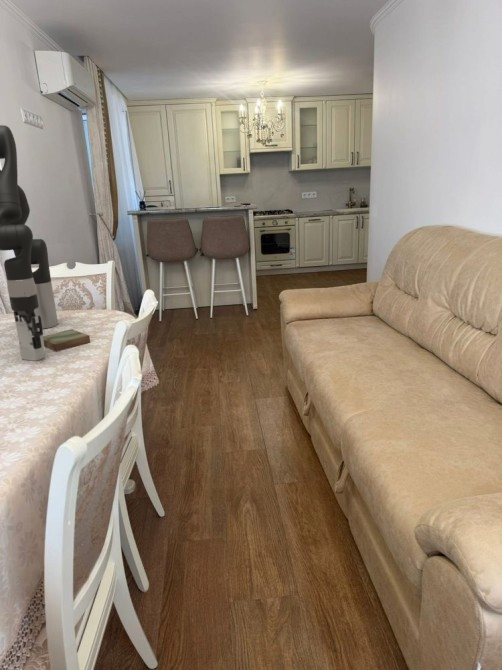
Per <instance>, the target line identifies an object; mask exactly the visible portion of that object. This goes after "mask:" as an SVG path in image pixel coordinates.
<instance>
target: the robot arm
mask: <svg viewBox="0 0 502 670" xmlns="http://www.w3.org/2000/svg"><path fill="white" fill-rule="evenodd" d="M17 153H18V152H17V144H16V141H15V138H14V134H13V132H12V130H11V128H10V127H9V126H8V125H5V124H4V125H3V124H2V125H0V160H2V159H4V163H3V167H2V169H0V251H13V254H14V257H11V258H10V257H9V258H7V259H5V260H4V263H3V266H4V272H5V277H6V278H5V279H6V285H7V293H8V297H9V304H10V309H11V310H12V311H13V317H14V321H15V323H16V322H17V321H23V323H24V324H25V327H26V329H27V331H29V332H30V334H31V337H32V343H33V348H34V349H38V348H41V347H42V346H41V340H40V336H41V335H43V336H44V329H48V328H53V327H54V328H55V327H56V326H58V325H59V322H58V313H57V308H56V301H55V295H54V289H53V284H52V283H53V282H52V277H51V271H50V265H49V254H48V253H49V252H48V247H47V244H46V243H47V242H46V241H45V240H44V239H42V238H34V233H33V231H32V230H31V228H30V227H29V225H26V223H27V221H28V219H29V216H30V211H31V209H30V205H29V202H28V199H27V195H26V193H25V191H24V190H23V188H22V187H21V186H20V185H19V184H18V183H19V182H18V176H19V175H18V154H17ZM32 265H38V268H37V269H35V271H33V270H32ZM29 323H32V327H29V325H28V324H29ZM32 329H33V331H32ZM36 331H37V332H36Z"/></svg>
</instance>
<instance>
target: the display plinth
mask: <svg viewBox="0 0 502 670" xmlns="http://www.w3.org/2000/svg"><path fill="white" fill-rule="evenodd" d="M43 341H44V348H47V349H49V350H52V351H54V352H59V351H60V352H61V351H64V350H67V349H72V348H75V347H78V346H83V345H86V344H89V343H91V338H90V335H89V334H87V333H84V332H81V331H78V330H75V329H72V328H71V329H69V330H64V331H60V332H56V333H52V334H48V335H43Z"/></svg>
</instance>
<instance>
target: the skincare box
mask: <svg viewBox="0 0 502 670" xmlns="http://www.w3.org/2000/svg"><path fill="white" fill-rule="evenodd" d="M28 325H29V327H32V323H29V324H28ZM15 327H16V332H17V333H16V334H17V338H18V345H19V346H18V347H19V352H20V353H19V354H20V359H22V360H27V361H33V362H37V361H39V360H41V359H44V358H45V357H46V349H45V348H46V347H44V341H43V336H44V334H43V335H41V336H40V340H41V346H42V347H41V348H38V349H34V348H33V343H32V337H31V334H30V332H29V331H27V329H26V327H25V324H24V323H23V321H17V322H15ZM32 331H33V329H32ZM36 332H37V331H36Z"/></svg>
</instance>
